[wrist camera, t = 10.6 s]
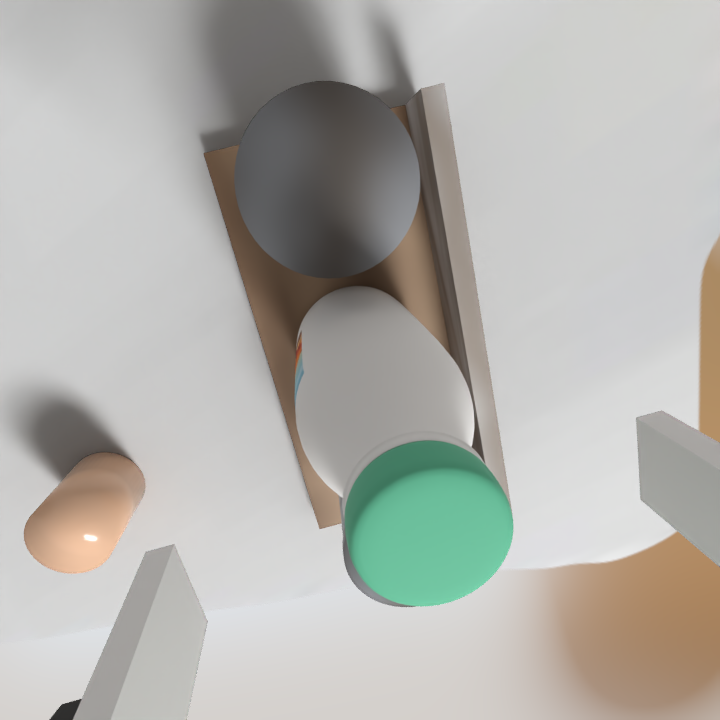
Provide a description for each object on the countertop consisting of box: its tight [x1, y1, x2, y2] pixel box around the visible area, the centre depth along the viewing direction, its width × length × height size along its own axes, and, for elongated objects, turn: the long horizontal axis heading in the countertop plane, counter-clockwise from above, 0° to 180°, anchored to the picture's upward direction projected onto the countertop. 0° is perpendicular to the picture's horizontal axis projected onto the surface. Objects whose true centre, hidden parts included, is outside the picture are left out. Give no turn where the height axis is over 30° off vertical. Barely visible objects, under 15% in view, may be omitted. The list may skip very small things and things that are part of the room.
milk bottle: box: [295, 286, 513, 606], centre depth 22 cm, size 8×8×20 cm
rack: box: [204, 81, 512, 607], centre depth 28 cm, size 13×27×10 cm, turn 13°
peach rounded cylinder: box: [24, 452, 145, 573], centre depth 32 cm, size 5×5×6 cm
